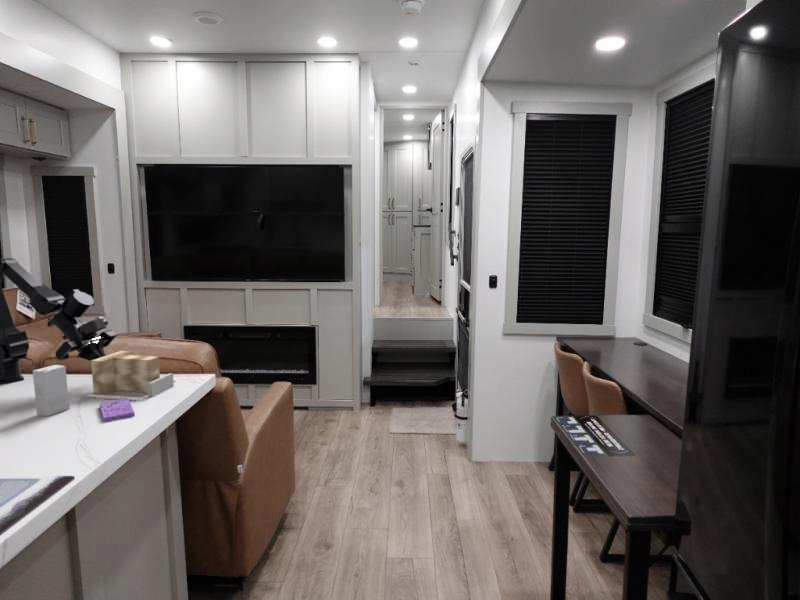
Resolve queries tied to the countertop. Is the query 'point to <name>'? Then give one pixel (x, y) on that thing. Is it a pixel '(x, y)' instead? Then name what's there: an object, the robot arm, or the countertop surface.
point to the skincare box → (51, 390)
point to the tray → (153, 388)
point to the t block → (124, 372)
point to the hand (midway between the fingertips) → (106, 364)
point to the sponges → (116, 410)
